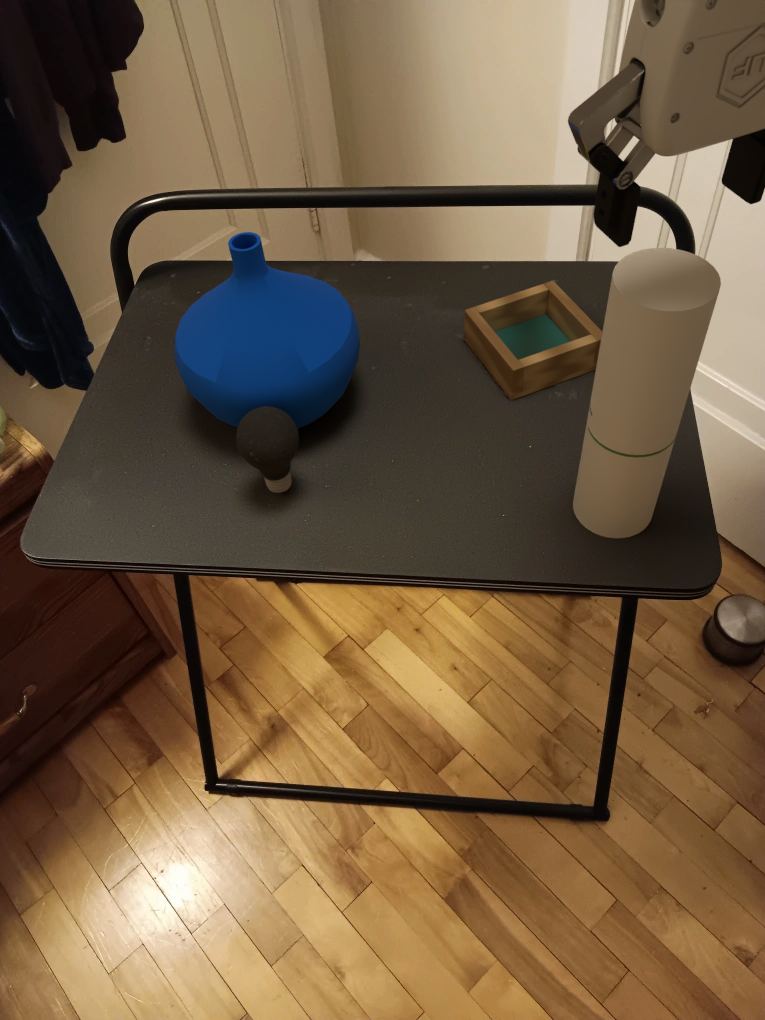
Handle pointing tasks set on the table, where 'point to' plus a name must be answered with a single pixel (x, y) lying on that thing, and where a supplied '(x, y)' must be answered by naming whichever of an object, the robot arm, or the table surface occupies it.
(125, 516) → the table surface
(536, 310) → the square wooden tray
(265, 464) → the light bulb
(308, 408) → the vase
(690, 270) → the cylindrical container
